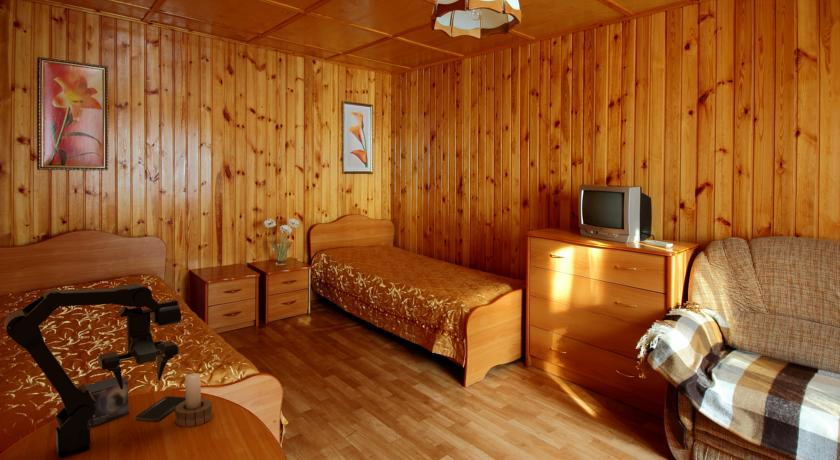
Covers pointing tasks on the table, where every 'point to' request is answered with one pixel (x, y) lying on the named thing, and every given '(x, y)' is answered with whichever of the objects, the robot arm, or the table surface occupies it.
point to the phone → (160, 409)
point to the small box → (108, 400)
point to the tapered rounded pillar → (193, 391)
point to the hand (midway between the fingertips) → (140, 384)
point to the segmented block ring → (193, 414)
